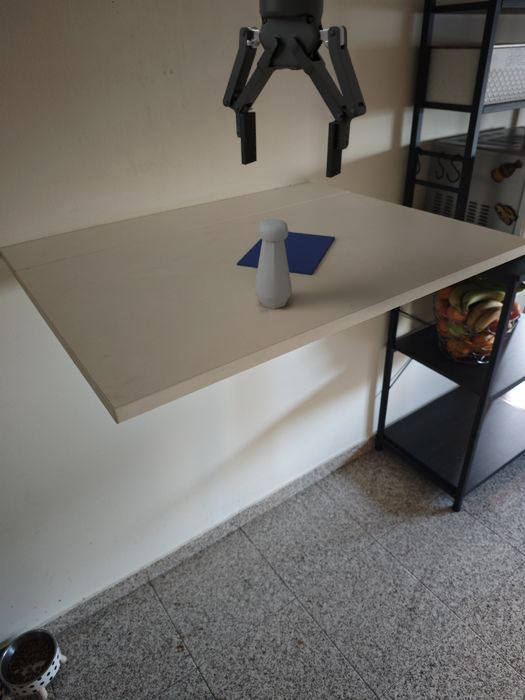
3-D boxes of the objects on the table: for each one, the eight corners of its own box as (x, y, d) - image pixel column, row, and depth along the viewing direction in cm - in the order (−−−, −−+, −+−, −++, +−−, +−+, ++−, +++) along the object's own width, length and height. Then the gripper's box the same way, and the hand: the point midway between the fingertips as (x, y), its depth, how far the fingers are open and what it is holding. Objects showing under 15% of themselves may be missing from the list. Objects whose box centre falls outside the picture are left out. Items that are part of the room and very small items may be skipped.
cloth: (334, 238, 100) (335, 236, 100) (311, 275, 86) (311, 272, 86) (269, 231, 104) (269, 229, 104) (236, 265, 90) (236, 263, 90)
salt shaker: (260, 313, 75) (258, 230, 68) (250, 296, 80) (248, 217, 73) (296, 308, 76) (298, 226, 69) (285, 291, 81) (286, 213, 74)
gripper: (187, -20, 60) (202, 163, 72) (381, -34, 48) (360, 188, 60) (225, -18, 65) (233, 153, 77) (409, -29, 53) (385, 174, 65)
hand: (289, 168), depth 69 cm, fingers open, 13 cm apart
